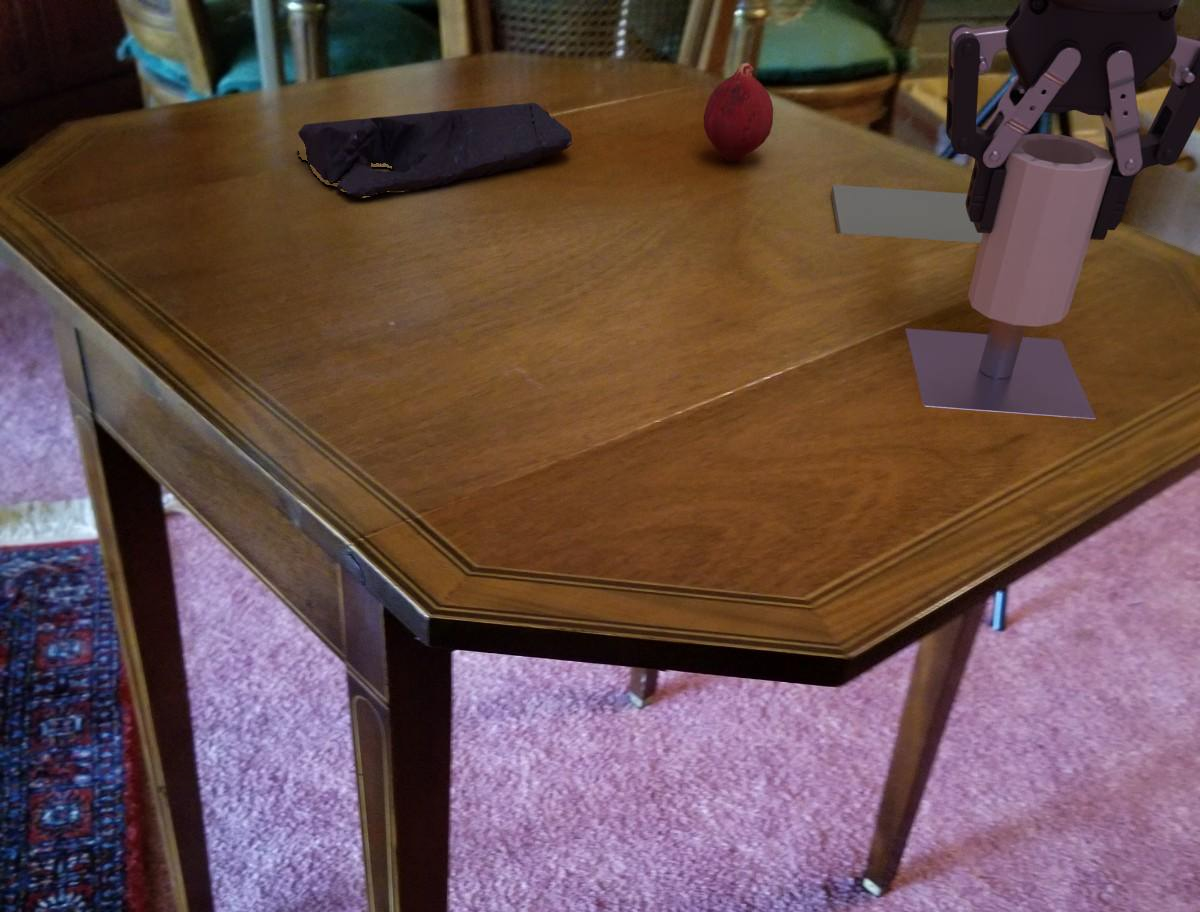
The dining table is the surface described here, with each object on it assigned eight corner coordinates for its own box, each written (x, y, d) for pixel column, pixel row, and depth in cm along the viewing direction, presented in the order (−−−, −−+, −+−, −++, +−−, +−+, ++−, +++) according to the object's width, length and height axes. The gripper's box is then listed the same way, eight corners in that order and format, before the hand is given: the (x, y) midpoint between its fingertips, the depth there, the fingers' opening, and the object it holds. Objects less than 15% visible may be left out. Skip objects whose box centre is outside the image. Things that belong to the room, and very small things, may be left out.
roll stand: (1056, 355, 78) (1095, 227, 73) (1091, 436, 71) (1138, 300, 65) (901, 344, 79) (929, 216, 73) (919, 423, 71) (951, 287, 66)
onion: (750, 179, 101) (762, 79, 96) (688, 164, 103) (697, 66, 98) (777, 158, 105) (790, 61, 100) (717, 145, 107) (726, 49, 102)
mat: (1003, 205, 98) (1005, 195, 98) (1047, 302, 85) (1050, 292, 84) (831, 193, 99) (832, 184, 99) (846, 288, 85) (848, 277, 85)
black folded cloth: (594, 173, 101) (596, 114, 98) (336, 208, 93) (330, 146, 90) (522, 116, 111) (522, 61, 108) (285, 143, 103) (278, 86, 100)
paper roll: (1055, 287, 73) (1099, 136, 67) (1076, 329, 69) (1124, 172, 63) (962, 281, 73) (997, 131, 68) (976, 323, 69) (1016, 166, 63)
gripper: (1255, -116, 60) (1148, 214, 71) (964, -130, 61) (901, 199, 72) (1311, -88, 54) (1185, 267, 65) (989, -103, 55) (916, 250, 66)
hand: (1036, 230), depth 68 cm, fingers closed on paper roll, 5 cm apart
